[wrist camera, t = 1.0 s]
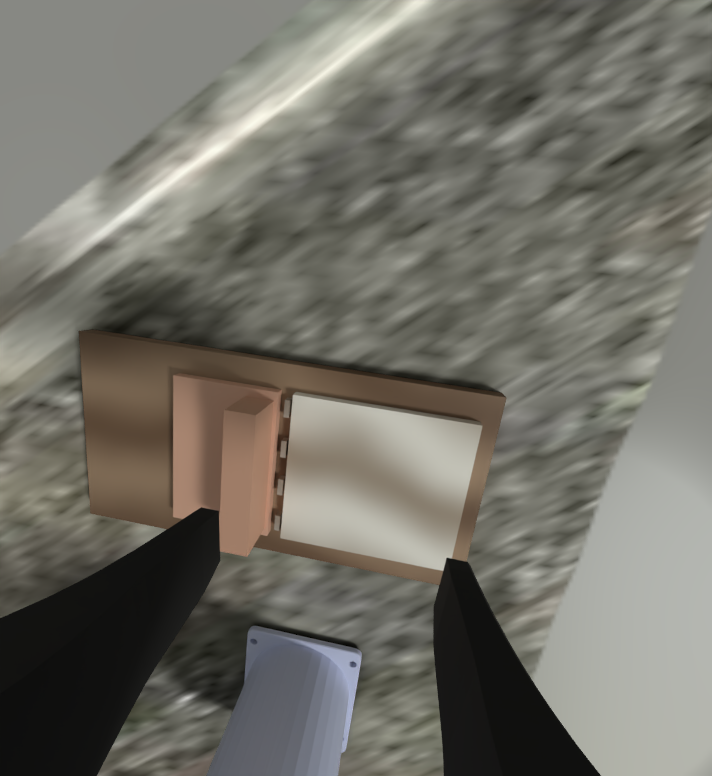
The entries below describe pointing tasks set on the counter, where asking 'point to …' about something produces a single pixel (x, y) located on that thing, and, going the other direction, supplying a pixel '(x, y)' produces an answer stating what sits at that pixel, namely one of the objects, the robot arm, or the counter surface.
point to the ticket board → (303, 452)
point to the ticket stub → (225, 455)
